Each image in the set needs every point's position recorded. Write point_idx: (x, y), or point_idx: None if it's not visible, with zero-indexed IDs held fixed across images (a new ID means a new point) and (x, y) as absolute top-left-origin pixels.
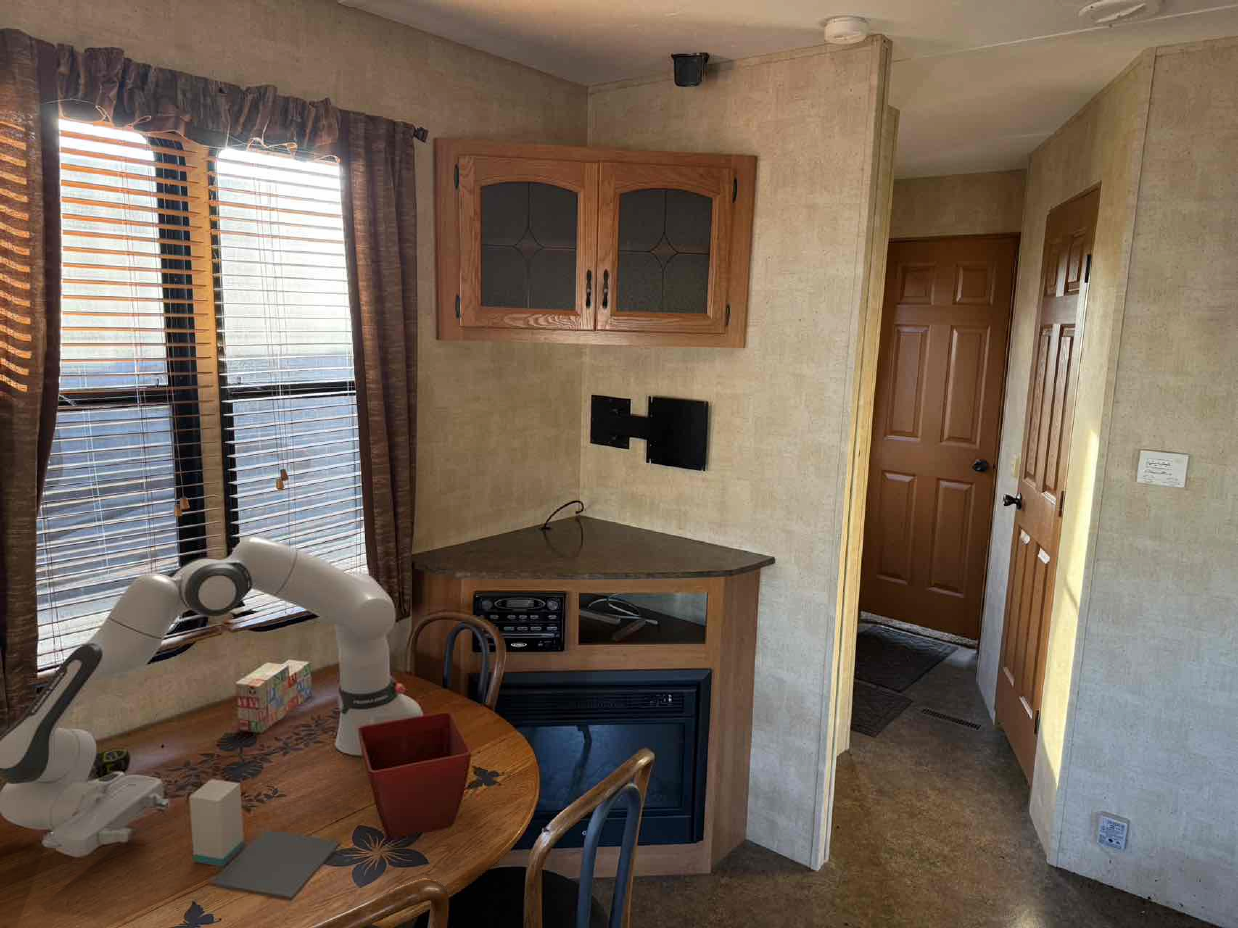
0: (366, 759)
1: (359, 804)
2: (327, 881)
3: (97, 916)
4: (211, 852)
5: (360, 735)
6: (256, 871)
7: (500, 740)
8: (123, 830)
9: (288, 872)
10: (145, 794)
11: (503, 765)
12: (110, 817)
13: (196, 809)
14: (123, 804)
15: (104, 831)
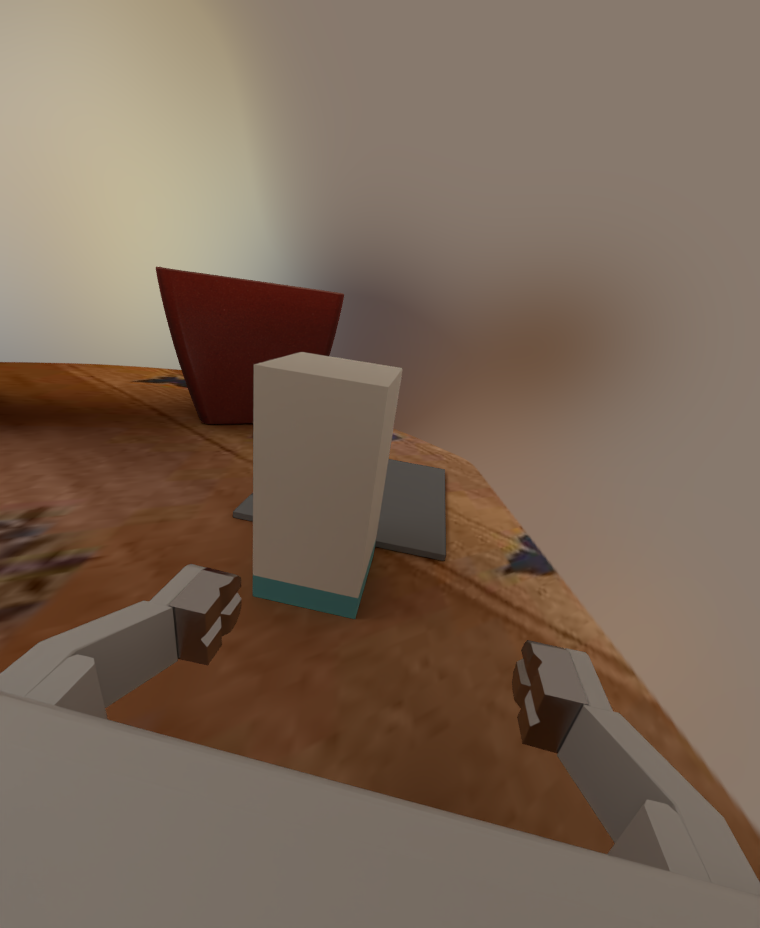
0: (302, 288)
1: (182, 436)
2: (396, 454)
3: (742, 824)
4: (372, 544)
5: (202, 273)
6: (393, 503)
7: (71, 367)
8: (568, 673)
9: (389, 475)
10: (46, 703)
11: (150, 373)
12: (560, 864)
13: (385, 431)
14: (247, 863)
15: (698, 835)
